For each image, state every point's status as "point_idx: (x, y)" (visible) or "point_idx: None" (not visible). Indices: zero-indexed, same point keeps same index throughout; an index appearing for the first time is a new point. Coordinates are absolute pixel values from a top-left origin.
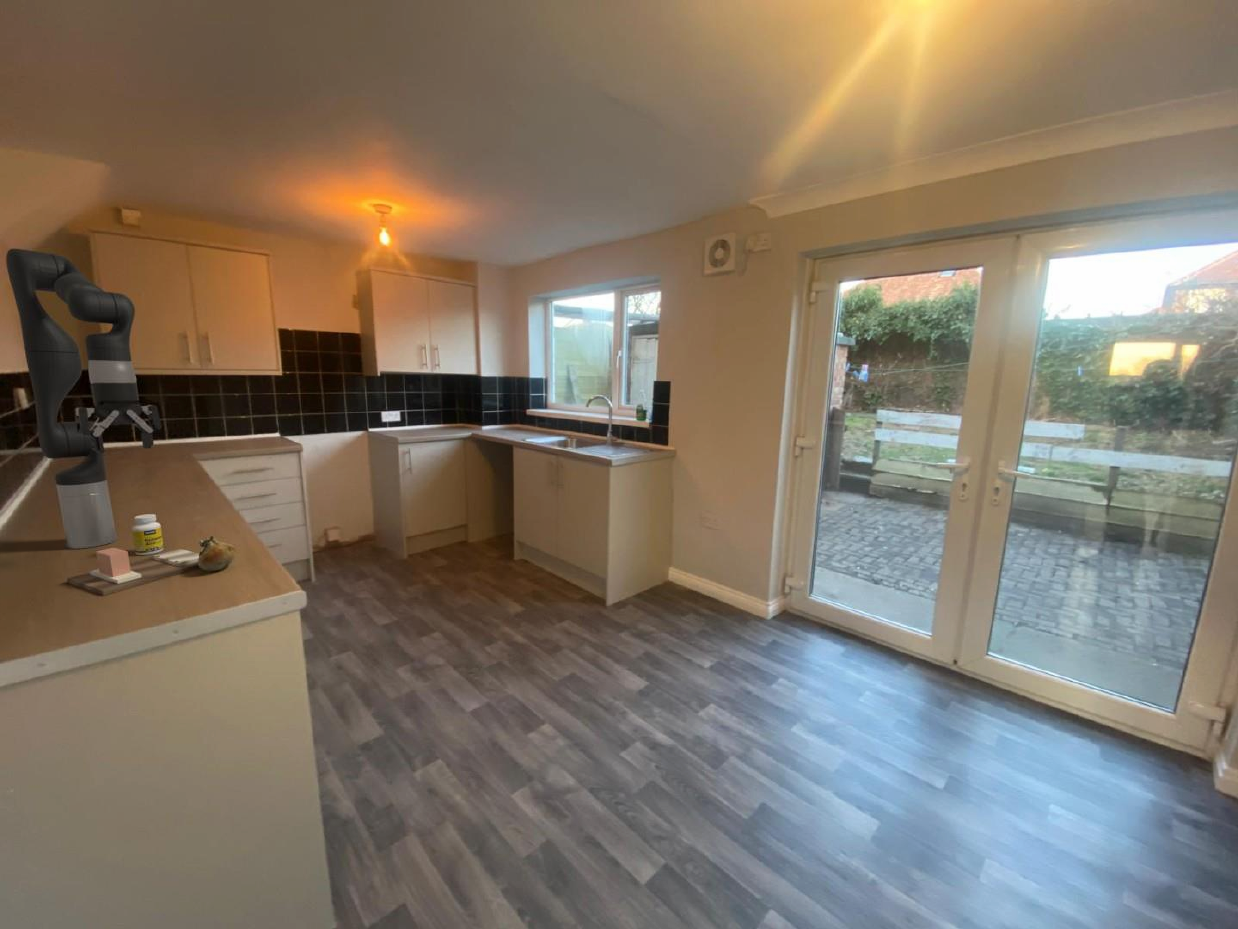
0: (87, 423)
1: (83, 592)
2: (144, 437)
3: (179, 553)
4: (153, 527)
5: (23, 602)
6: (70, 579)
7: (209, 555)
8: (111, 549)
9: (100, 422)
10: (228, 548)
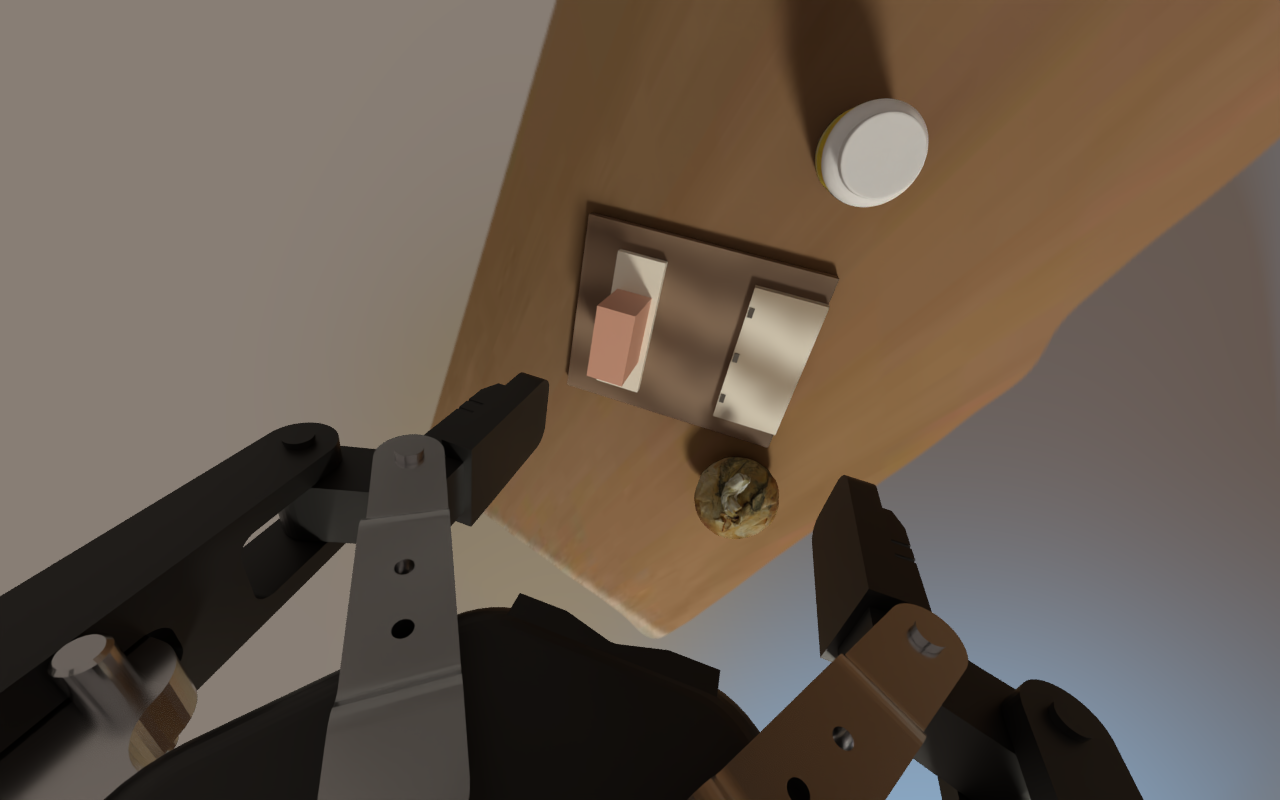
0: (259, 618)
1: (568, 320)
2: (835, 587)
3: (784, 347)
4: (859, 206)
5: (499, 255)
6: (586, 234)
7: (699, 516)
8: (621, 328)
9: (417, 569)
10: (735, 538)
